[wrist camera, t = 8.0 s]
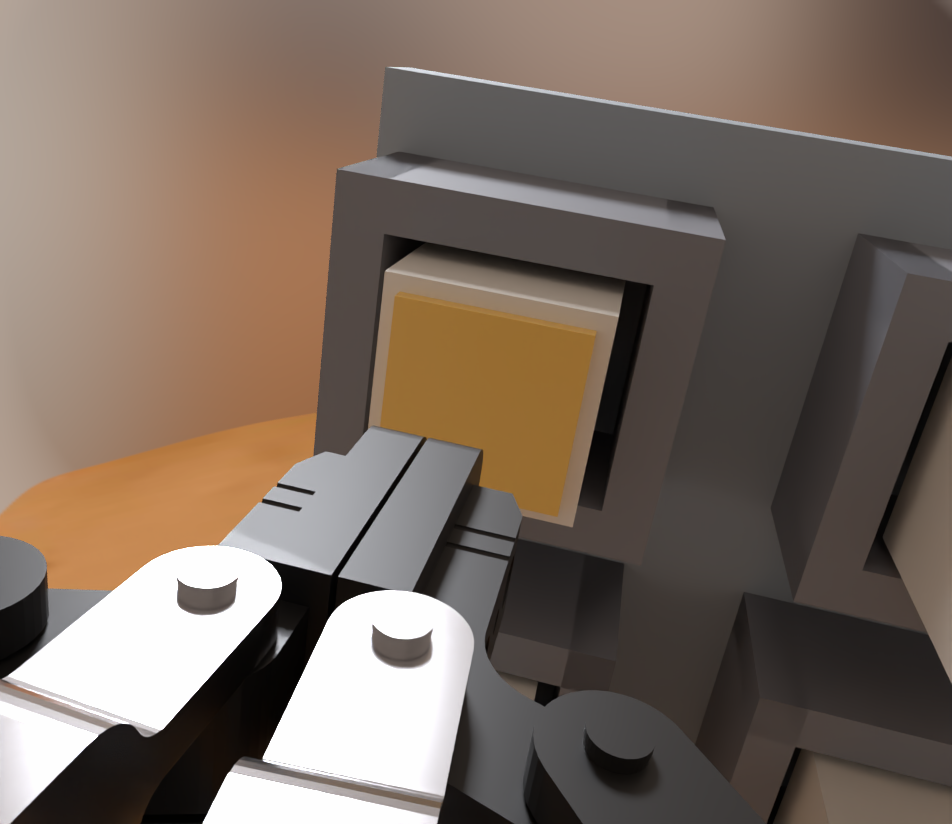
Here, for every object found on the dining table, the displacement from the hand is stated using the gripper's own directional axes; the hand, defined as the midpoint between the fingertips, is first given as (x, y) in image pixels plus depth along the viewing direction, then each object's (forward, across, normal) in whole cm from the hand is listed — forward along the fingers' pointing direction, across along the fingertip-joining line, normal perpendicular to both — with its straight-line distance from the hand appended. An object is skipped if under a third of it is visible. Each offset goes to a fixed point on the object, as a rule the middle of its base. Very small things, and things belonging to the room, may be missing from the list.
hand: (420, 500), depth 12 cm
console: (+10, -5, +19) cm, 22 cm away
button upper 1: (+6, 0, +2) cm, 7 cm away
